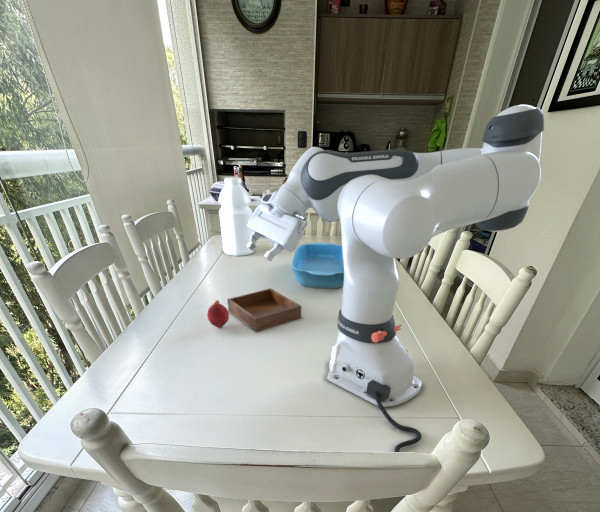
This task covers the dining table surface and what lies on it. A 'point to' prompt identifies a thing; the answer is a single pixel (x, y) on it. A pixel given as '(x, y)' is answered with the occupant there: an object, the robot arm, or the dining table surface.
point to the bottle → (235, 217)
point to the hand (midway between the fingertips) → (258, 253)
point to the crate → (264, 309)
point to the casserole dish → (319, 265)
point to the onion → (218, 314)
